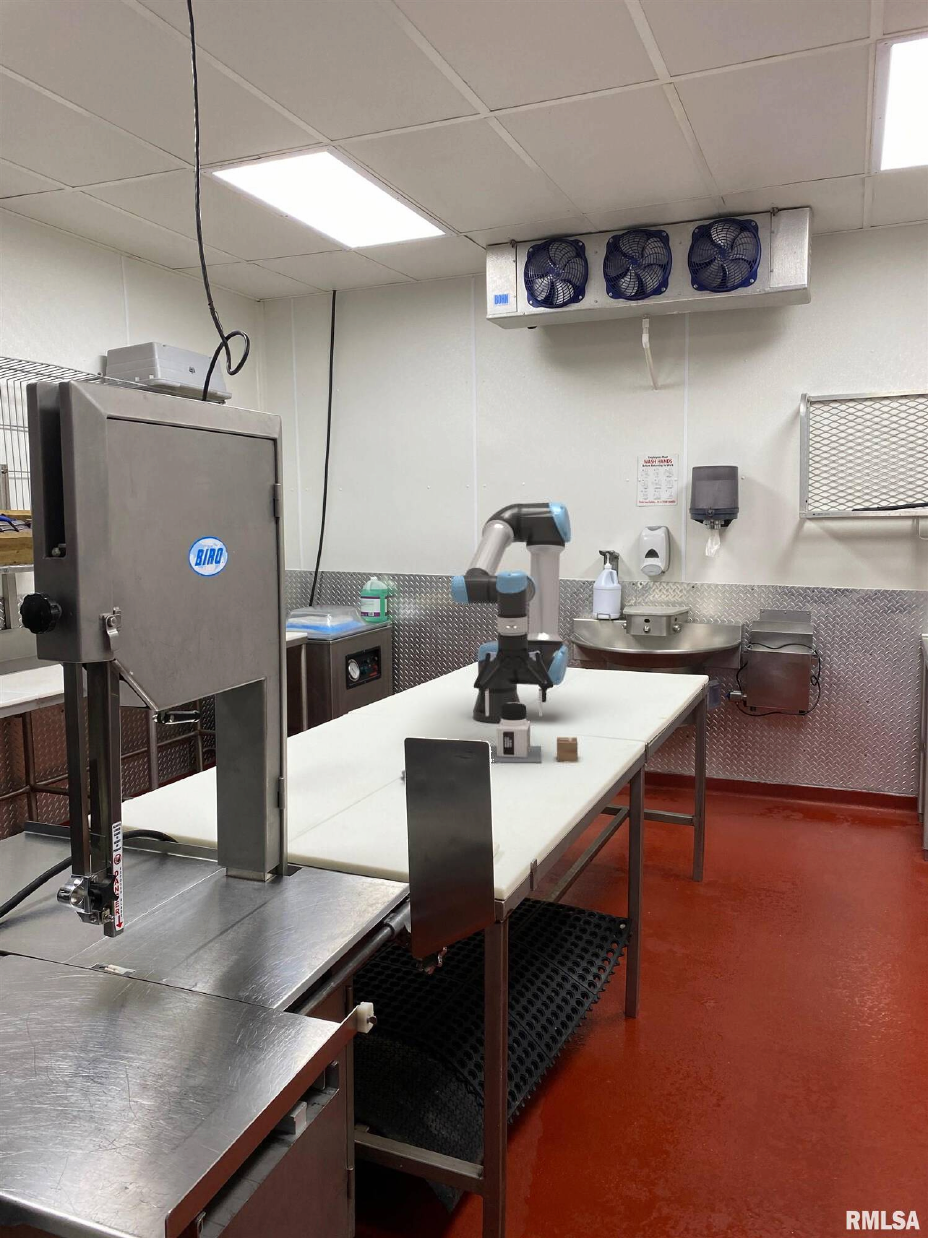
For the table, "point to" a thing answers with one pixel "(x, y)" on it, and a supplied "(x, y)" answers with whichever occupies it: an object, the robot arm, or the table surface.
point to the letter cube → (567, 749)
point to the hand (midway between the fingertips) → (513, 714)
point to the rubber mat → (532, 757)
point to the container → (513, 731)
